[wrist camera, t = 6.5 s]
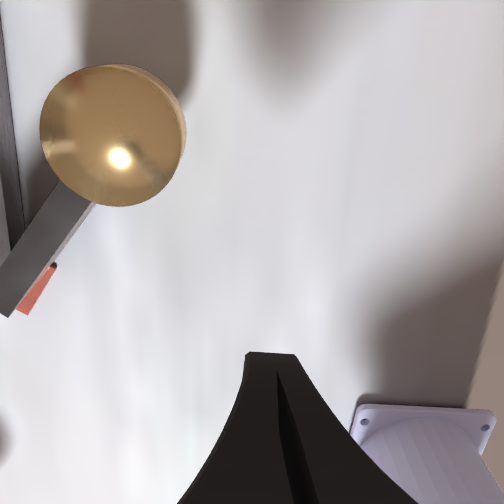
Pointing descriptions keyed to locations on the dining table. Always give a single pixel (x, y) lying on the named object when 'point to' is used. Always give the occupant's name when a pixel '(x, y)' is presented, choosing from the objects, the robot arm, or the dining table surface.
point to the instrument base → (12, 189)
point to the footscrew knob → (95, 160)
